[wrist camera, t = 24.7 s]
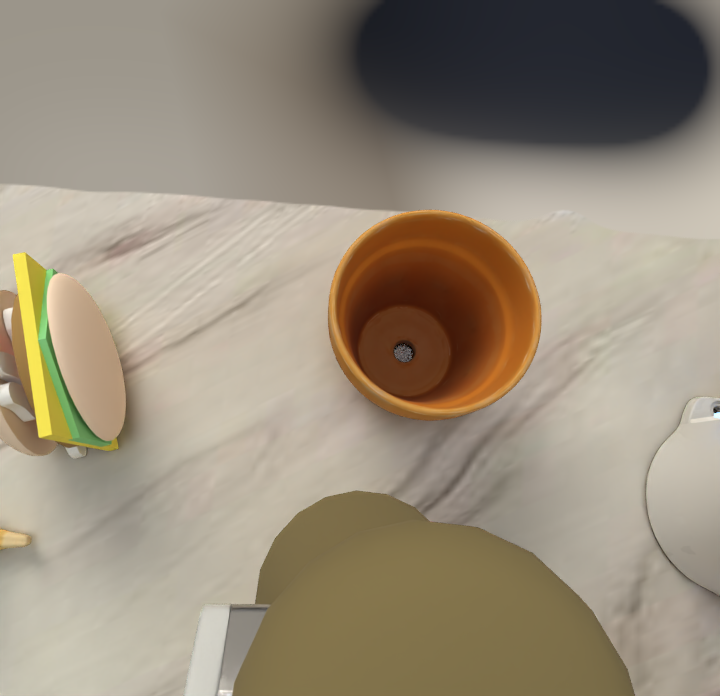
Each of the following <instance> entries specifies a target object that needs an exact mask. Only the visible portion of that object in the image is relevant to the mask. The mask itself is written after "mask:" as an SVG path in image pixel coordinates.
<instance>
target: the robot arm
mask: <svg viewBox="0 0 720 696" xmlns="http://www.w3.org/2000/svg"><path fill="white" fill-rule="evenodd" d="M713 409H715V410H716V412H717V413H714V412H713ZM646 504H647V511H648V516H649V520H650V523H651V526H652V529H653V532H654V534H655V537H656V539H657V541H658V543H659V544H660V546H661V548H662V549H663V551H664V553H665V554H666V555H667V557H668V558H669V559H670V561H671V562H672V563H673V564H674V565H675V566H676V567H677V568H678V569H679V570H680V571H681V572H682V573H683V574H684V575H685V576H687V577H688V578H689V579H691V580H692V581H693V582H695V583H697V584H698V585H700V586H702V587H704V588H706V589H708V590H710V591H712V592H714V593H715V594H717V595H718V596H720V398H714V397H696V398H693V399H691V400H690V401H689V402H688V403H687V405H686V407H685V410H684V412H683V415H682V418H681V421H680V425H679V426H678V428H677V429H676V430H675V432H674V433H673V434H672V435H671V436H670V437H669V438H668V439H667V440H666V441H665V442H664V443H663V444H662V446H661V447H660V448H659V450H658V451H657V453H656V455H655V457H654V459H653V461H652V463H651V466H650V469H649V473H648V477H647V484H646ZM270 605H271V604H204V605H203V608H202V610H201V613H200V616H199V621H198V626H197V631H196V636H195V641H194V646H193V651H192V656H191V661H190V665H189V670H188V675H187V680H186V685H185V690H184V695H183V696H232V693H233V687H234V682H235V680H236V677H237V675H238V673H239V670H240V668H241V666H242V664H243V661H244V659H245V657H246V655H247V653H248V650H249V648H250V646H251V644H252V642H253V640H254V637H255V635H256V633H257V631H258V629H259V626H260V624H261V622H262V620H263V618H264V615H265V613H266V611H267V609H268V608H269V606H270Z"/></svg>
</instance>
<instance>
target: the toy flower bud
mask: <svg viewBox="0 0 720 696" xmlns="http://www.w3.org/2000/svg"><path fill="white" fill-rule="evenodd" d="M30 543H31V537H30V536H28V535H24V534H21V533H14V532H10V531H6V530H3V529H0V550H2V549H6V548H14V547H25V546H28V545H29V544H30Z"/></svg>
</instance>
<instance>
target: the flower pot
mask: <svg viewBox="0 0 720 696" xmlns="http://www.w3.org/2000/svg"><path fill="white" fill-rule="evenodd" d="M328 327H329V335H330V340H331V344H332V348H333V351H334V354H335V356H336V359H337V361H338V363H339V365H340V367H341V369H342V370H343V372H344V374H345V375H346V377H347V378H348V379H349V381H350V382H351V383H352V384H353V386H354V387H355V388H356V389H357V390H358V391H359V392H360V393H361V394H362V395H364V396H365V397H366V398H367V399H369V400H370V401H371V402H373V403H374V404H376V405H377V406H379V407H381V408H383V409H385V410H387V411H389V412H391V413H394V414H396V415H399V416H402V417H407V418H411V419H417V420H427V421H433V420H444V419H451V418H455V417H459V416H463V415H466V414H469V413H472V412H474V411H477V410H479V409H482V408H484V407H486V406H488V405H490V404H492V403H494V402H496V401H497V400H499V399H500V398H502V397H503V396H504V395H506V394H507V393H508V392H509V391H510V390H511V389H512V388H514V387H515V386H516V385H517V383H518V382H519V381H520V380H521V378H522V377H523V376H524V374H525V373H526V371H527V370H528V368H529V366H530V364H531V362H532V360H533V358H534V356H535V353H536V350H537V347H538V343H539V338H540V333H541V305H540V300H539V296H538V292H537V289H536V286H535V283H534V280H533V278H532V276H531V274H530V272H529V270H528V268H527V266H526V264H525V263H524V261H523V260H522V258H521V257H520V255H519V254H518V253H517V252H516V250H515V249H514V248H513V247H512V246H511V245H510V244H509V243H508V242H507V241H506V240H505V239H504V238H503V237H502V236H500V235H499V234H498V233H497V232H495V231H494V230H492V229H491V228H489V227H488V226H486V225H484V224H482V223H481V222H479V221H476V220H474V219H472V218H469V217H467V216H464V215H461V214H457V213H453V212H447V211H439V210H418V211H411V212H406V213H402V214H398V215H395V216H392V217H390V218H388V219H385V220H383V221H381V222H379V223H377V224H376V225H374V226H373V227H371V228H370V229H368V230H367V231H366V232H364V233H363V234H362V235H361V236H360V237H359V238H358V239H357V240H356V241H355V242H354V243H353V244H352V245H351V246H350V248H349V249H348V250H347V252H346V253H345V255H344V256H343V258H342V260H341V262H340V264H339V266H338V268H337V270H336V272H335V275H334V278H333V281H332V285H331V289H330V296H329V307H328ZM400 343H406V344H408V345H410V346H411V347H412V349H413V352H414V355H413V358H412V359H411V360H410V361H409V362H401V361H399V360H397V359H396V357H395V355H394V349H395V347H396V346H397V345H398V344H400Z"/></svg>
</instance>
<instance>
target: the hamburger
mask: <svg viewBox="0 0 720 696" xmlns="http://www.w3.org/2000/svg"><path fill="white" fill-rule="evenodd" d="M13 261H14V268H15V275H16V282H17V289H18V294H17V295H16V294H14V293H12V292H10V291H6V290H2V291H0V438H1V439H2V440H3V441H4V442H5V443H6V444H8V445H9V446H10V447H12V448H13V449H15V450H17V451H19V452H21V453H24V454H27V455H31V456H43V455H47V454H49V453H51V452H52V451H53V450H54V449H55V448H56V446H57V444H58V443H59V444H61V445H63V446H65V448H66V450H67V452H68V454H69V455H70V456H71V457H72V458H74V459H75V458H79V457H82V456H86V453H87V449H86V447H90V448H95V449H101V450H106V451H111V450H115V449H119V448H118V442H117V436H118V435H119V434H120V431H121V429H122V427H123V424H124V419H125V412H126V393H125V384H124V378H123V372H122V367H121V363H120V359H119V356H118V352H117V349H116V346H115V343H114V340H113V337H112V335H111V333H110V330H109V328H108V326H107V323H106V321H105V319H104V317H103V315H102V313H101V312H100V310H99V308H98V306H97V305H96V303H95V302H94V300H93V299H92V297H91V296H90V294H89V293H88V292H87V291H86V289H85V288H84V287H83V286H82V285H81V284H80V283H79V282H78V281H77V280H75V279H74V278H72V277H70V276H69V275H67V274H61V273H57V272H56V271H55V270H54V269H50V270H46V269H44V268H43V267H42V266H41V265H40V264H38V263H37V262H36V261H35V260H34V259H32V258H31V257H30V256H29V255H28V254H26V253H25V252H24V253H19V254H14V255H13Z"/></svg>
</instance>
